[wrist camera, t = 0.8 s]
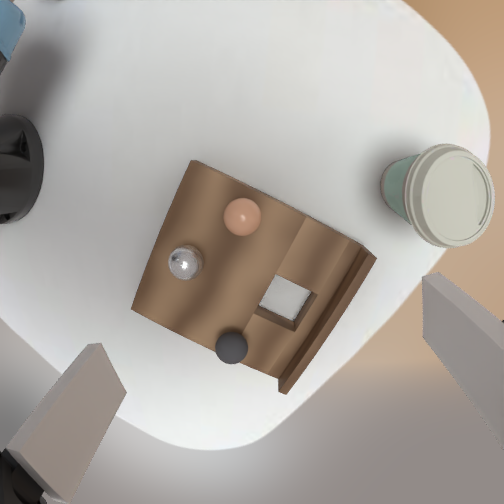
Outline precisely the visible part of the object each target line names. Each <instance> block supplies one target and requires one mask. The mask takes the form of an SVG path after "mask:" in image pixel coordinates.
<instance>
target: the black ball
mask: <svg viewBox="0 0 504 504" xmlns="http://www.w3.org/2000/svg"><path fill="white" fill-rule="evenodd" d="M215 351H216V354H217V356H218V357H219V359H220V360H221V361H223V362H225V363H227V364H236V363H239V362H241V361H242V360H243V359H244V358H245V357H246V355H247V352H248V344H247V341H246V339H245V338H244V337H243V336H242V335H241V334H239V333H236V332H227V333H224V334H222V335H221V336H220V337H219V338H218V340H217V342H216V345H215Z"/></svg>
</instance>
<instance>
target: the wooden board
mask: <svg viewBox="0 0 504 504" xmlns="http://www.w3.org/2000/svg"><path fill="white" fill-rule="evenodd" d="M238 198H247V199H250V200H252V201H254V202H255V203H256V204H257V205H258V207H259V208H260V211H261V215H262V219H261V223H260V226H259V227H258V229H257V230H256V231H255V232H254V233H252V234H250V235H247V236H238V235H235V234H233V233H231V232H230V231H229V230H228V229H227V227H226V226H225V224H224V219H223V215H224V211H225V208H226V207H227V205H228V204H229V203H230V202H231V201H233V200H235V199H238ZM181 245H191V246H193V247H195V248H197V249H198V250H199V251H200V253H201V254H202V257H203V261H204V264H203V269H202V271H201V273H200V274H199V275H198V276H197V277H196V278H194V279H192V280H189V281H183V280H179V279H177V278H176V277H174V276H173V275H172V273H171V272H170V270H169V267H168V258H169V255H170V253H171V252H172V251H173V250H174V249H175V248H176V247H178V246H181ZM376 259H377V258H376V257H375V256H374V255H373V254H372V253H371V252H370V251H369V250H368V249H366V248H365V247H364V246H363V245H361V244H360V243H358V242H356V241H354V240H352V239H351V238H349V237H347V236H345V235H343V234H342V233H340V232H338V231H336V230H334V229H332V228H330V227H329V226H327V225H325V224H323V223H321V222H319V221H317V220H316V219H314V218H312V217H310V216H308V215H306V214H304V213H302V212H300V211H298V210H296V209H295V208H293V207H291V206H289V205H287V204H285V203H283V202H281V201H279V200H277V199H275V198H273V197H271V196H269V195H267V194H265V193H263V192H261V191H259V190H257V189H255V188H253V187H251V186H249V185H247V184H245V183H243V182H241V181H239V180H237V179H235V178H233V177H231V176H228V175H226V174H224V173H222V172H220V171H218V170H216V169H214V168H212V167H210V166H207V165H205V164H203V163H201V162H199V161H196V160H191V161H190V163H189V166H188V168H187V170H186V172H185V174H184V177H183V179H182V181H181V183H180V185H179V188H178V190H177V192H176V195H175V197H174V199H173V201H172V204H171V206H170V208H169V211H168V213H167V216H166V218H165V220H164V223H163V225H162V228H161V230H160V232H159V235H158V237H157V240H156V242H155V245H154V247H153V250H152V253H151V255H150V258H149V260H148V263H147V266H146V268H145V271H144V274H143V276H142V279H141V282H140V284H139V287H138V290H137V293H136V296H135V298H134V301H133V304H132V307H131V310H133V311H135V312H137V313H139V314H141V315H142V316H144V317H146V318H148V319H150V320H152V321H154V322H156V323H158V324H160V325H162V326H163V327H165V328H167V329H169V330H171V331H173V332H175V333H177V334H179V335H181V336H183V337H185V338H187V339H189V340H192V341H194V342H196V343H198V344H200V345H202V346H204V347H206V348H208V349H211V350H213V351H215V345H216V342H217V340H218V338H219V337H220V336H221V335H222V334H224V333H227V332H236V333H239V334H241V335H242V336H243V337H244V338H245V339H246V341H247V344H248V352H247V355H246V357H245V358H244V359H243V360H242V361H241V362H239V363H242V364H244V365H246V366H249V367H251V368H253V369H256V370H258V371H260V372H263V373H265V374H268V375H270V376H273V377H275V378H278V392H280V393H283V394H285V395H286V394H287V393H288V392H289V391H290V389H291V388H292V387H293V385H294V384H295V382H296V381H297V380H298V378H299V377H300V376H301V374H302V373H303V372H304V370H305V369H306V367H307V366H308V365H309V363H310V362H311V360H312V359H313V358H314V356H315V355H316V353H317V352H318V350H319V349H320V348H321V346H322V345H323V343H324V342H325V340H326V339H327V337H328V336H329V334H330V333H331V331H332V330H333V328H334V327H335V325H336V324H337V322H338V321H339V319H340V318H341V316H342V315H343V313H344V312H345V310H346V308H347V307H348V305H349V304H350V302H351V301H352V299H353V297H354V296H355V294H356V293H357V291H358V289H359V288H360V286H361V284H362V283H363V281H364V279H365V278H366V276H367V274H368V273H369V271H370V269H371V268H372V266H373V264H374V263H375V261H376ZM275 274H277V275H279V276H281V277H283V278H285V279H287V280H289V281H291V282H293V283H295V284H297V285H299V286H301V287H303V288H305V289H308V290H310V291H312V292H311V294H310V296H309V297H308V299H307V301H306V302H305V304H304V306H303V307H302V309H301V311H300V312H299V314H298V315H297V317H296V319H295V320H294V322H293V321H291V320H288V319H286V318H284V317H282V316H280V315H278V314H275V313H273V312H271V311H269V310H267V309H265V308H263V307H261V306H258V305H259V303H260V301H261V299H262V298H263V296H264V294H265V292H266V290H267V289H268V287H269V285H270V283H271V281H272V280H273V278H274V276H275ZM215 352H216V351H215Z"/></svg>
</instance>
